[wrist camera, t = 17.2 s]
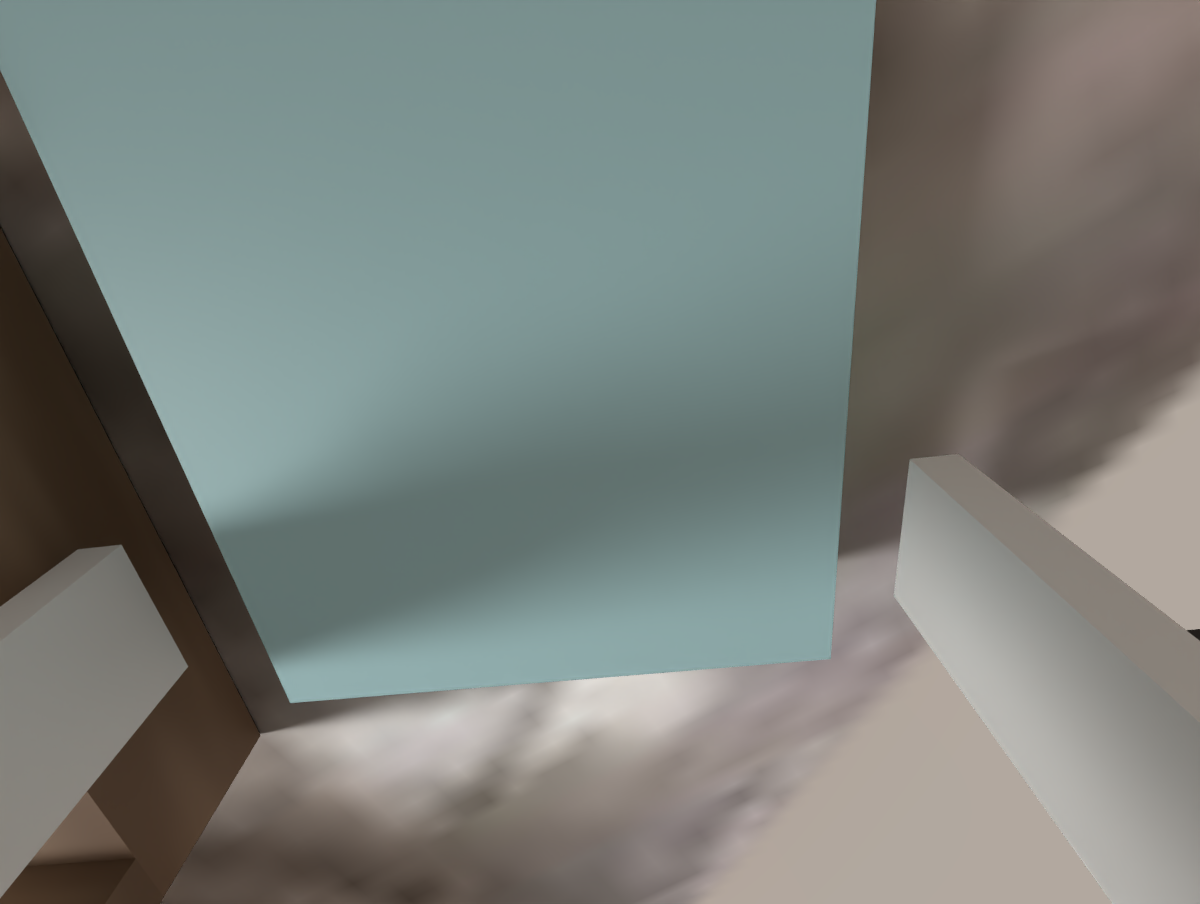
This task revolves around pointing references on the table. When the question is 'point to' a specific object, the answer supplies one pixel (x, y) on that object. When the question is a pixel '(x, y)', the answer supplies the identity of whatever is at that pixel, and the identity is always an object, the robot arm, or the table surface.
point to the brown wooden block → (117, 517)
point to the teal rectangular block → (481, 313)
